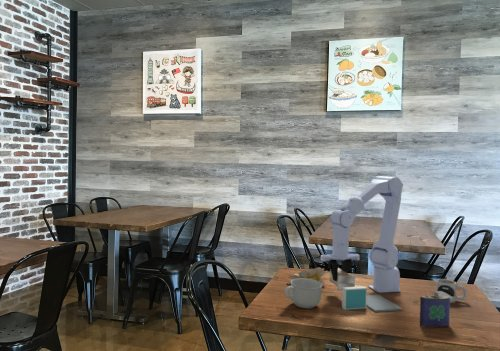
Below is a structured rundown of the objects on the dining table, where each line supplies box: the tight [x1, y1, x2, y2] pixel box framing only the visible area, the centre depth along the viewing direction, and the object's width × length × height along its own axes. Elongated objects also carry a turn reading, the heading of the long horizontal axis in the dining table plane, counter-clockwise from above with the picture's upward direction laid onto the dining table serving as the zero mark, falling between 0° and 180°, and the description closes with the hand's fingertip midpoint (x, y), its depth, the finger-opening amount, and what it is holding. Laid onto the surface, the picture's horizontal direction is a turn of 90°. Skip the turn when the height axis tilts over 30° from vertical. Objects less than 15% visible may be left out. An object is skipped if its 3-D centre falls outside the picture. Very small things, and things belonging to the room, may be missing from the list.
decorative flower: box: [288, 266, 328, 285], centre depth 170 cm, size 15×11×10 cm
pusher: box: [329, 267, 356, 291], centre depth 154 cm, size 6×11×5 cm, turn 14°
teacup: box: [284, 278, 323, 309], centre depth 144 cm, size 14×11×8 cm
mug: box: [435, 278, 468, 304], centre depth 154 cm, size 10×7×7 cm
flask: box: [419, 290, 451, 329], centre depth 129 cm, size 9×3×11 cm, turn 95°
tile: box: [341, 285, 368, 311], centre depth 144 cm, size 8×2×7 cm, turn 104°
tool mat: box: [366, 294, 403, 313], centre depth 149 cm, size 10×15×1 cm, turn 14°
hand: (339, 280), depth 155 cm, fingers closed on pusher, 3 cm apart
